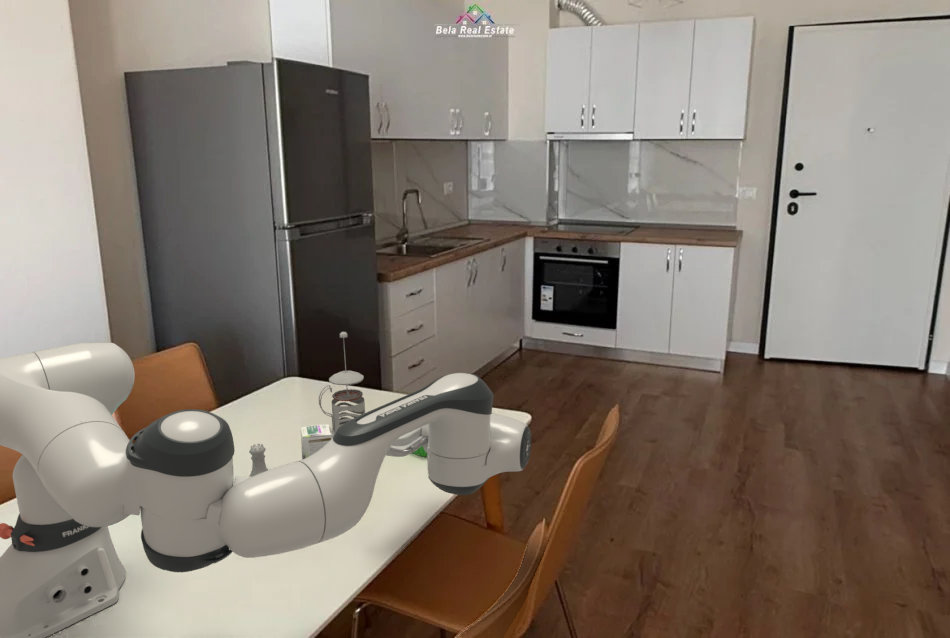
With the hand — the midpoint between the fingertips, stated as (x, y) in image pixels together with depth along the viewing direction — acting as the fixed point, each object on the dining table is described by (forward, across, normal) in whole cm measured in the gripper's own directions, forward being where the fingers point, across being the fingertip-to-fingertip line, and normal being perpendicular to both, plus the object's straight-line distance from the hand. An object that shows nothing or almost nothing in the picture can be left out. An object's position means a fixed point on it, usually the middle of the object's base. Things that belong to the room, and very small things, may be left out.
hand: (377, 416), depth 129 cm
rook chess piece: (+31, 0, -20) cm, 37 cm away
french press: (+31, +28, -20) cm, 46 cm away
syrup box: (+15, 0, -20) cm, 25 cm away
